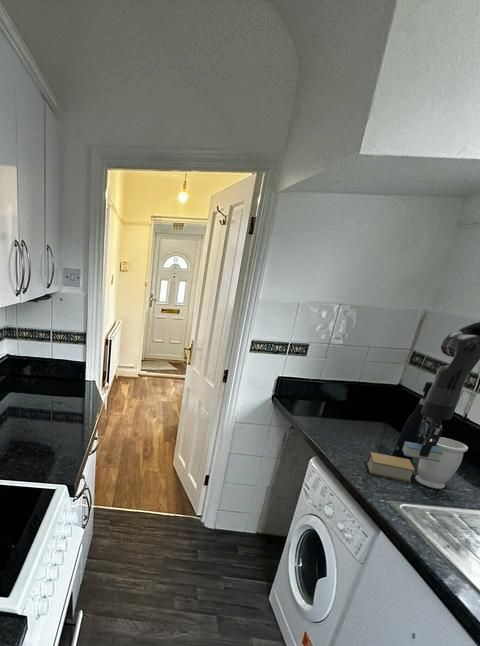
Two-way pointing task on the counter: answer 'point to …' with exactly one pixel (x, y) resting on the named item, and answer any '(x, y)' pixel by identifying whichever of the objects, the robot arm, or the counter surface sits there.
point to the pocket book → (415, 448)
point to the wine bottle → (411, 426)
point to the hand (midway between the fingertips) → (421, 452)
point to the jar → (441, 464)
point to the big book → (390, 466)
